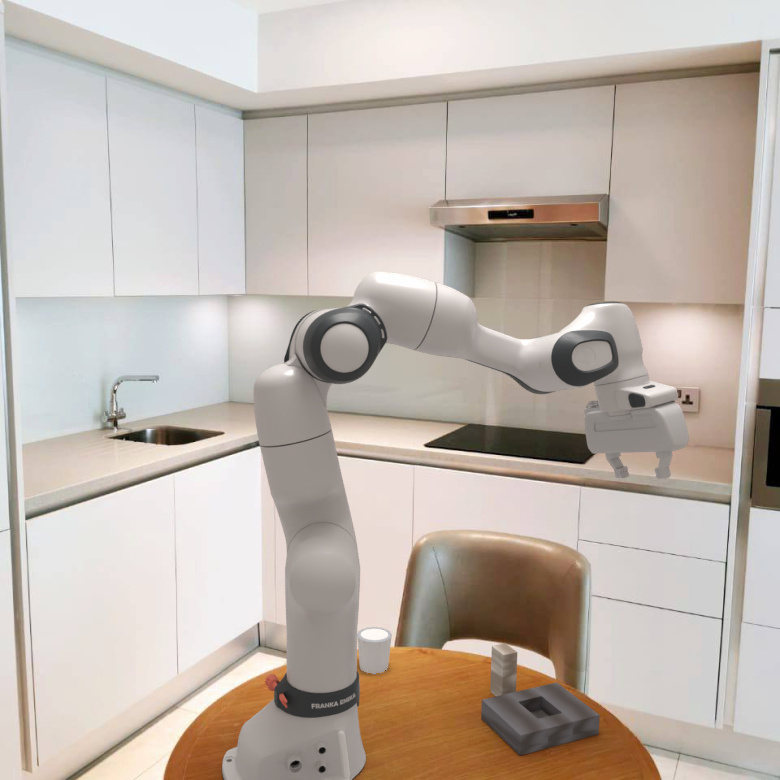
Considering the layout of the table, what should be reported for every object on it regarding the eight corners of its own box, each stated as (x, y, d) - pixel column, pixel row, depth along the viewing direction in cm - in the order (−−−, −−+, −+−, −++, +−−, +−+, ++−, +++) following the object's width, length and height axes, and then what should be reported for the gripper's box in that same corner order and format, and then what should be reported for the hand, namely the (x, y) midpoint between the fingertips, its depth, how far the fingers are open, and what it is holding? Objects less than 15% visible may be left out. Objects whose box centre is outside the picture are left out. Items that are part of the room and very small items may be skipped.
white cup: (390, 659, 159) (391, 626, 158) (391, 675, 152) (392, 641, 151) (356, 659, 159) (357, 626, 158) (356, 675, 152) (356, 641, 151)
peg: (501, 701, 143) (503, 655, 142) (490, 691, 147) (491, 645, 146) (515, 698, 144) (517, 652, 143) (503, 688, 148) (505, 643, 147)
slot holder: (519, 755, 127) (520, 735, 126) (481, 718, 137) (481, 699, 137) (598, 734, 133) (599, 714, 133) (555, 700, 144) (556, 682, 144)
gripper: (569, 405, 138) (586, 481, 138) (656, 395, 120) (675, 483, 120) (596, 398, 141) (613, 472, 141) (685, 387, 123) (704, 473, 123)
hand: (642, 477), depth 130 cm, fingers open, 8 cm apart
